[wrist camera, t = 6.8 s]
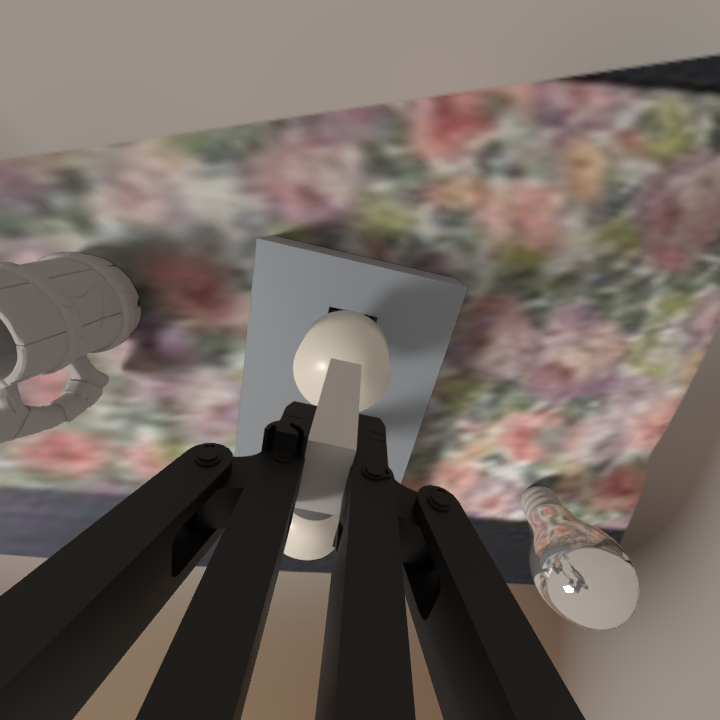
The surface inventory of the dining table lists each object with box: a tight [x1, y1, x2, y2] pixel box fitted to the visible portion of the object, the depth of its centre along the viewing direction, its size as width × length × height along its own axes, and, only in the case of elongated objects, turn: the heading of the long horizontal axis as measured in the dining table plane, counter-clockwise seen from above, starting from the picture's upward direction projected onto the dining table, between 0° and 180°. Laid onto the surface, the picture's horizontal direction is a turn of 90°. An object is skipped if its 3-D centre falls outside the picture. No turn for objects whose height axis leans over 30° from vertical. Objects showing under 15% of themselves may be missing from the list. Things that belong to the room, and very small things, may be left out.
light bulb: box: [521, 486, 639, 630], centre depth 28 cm, size 7×7×12 cm
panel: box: [235, 236, 468, 550], centre depth 29 cm, size 14×26×4 cm, turn 167°
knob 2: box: [293, 310, 391, 412], centre depth 22 cm, size 5×5×7 cm
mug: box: [0, 252, 141, 443], centre depth 23 cm, size 8×12×12 cm, turn 176°
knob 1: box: [284, 513, 340, 560], centre depth 30 cm, size 5×5×7 cm
